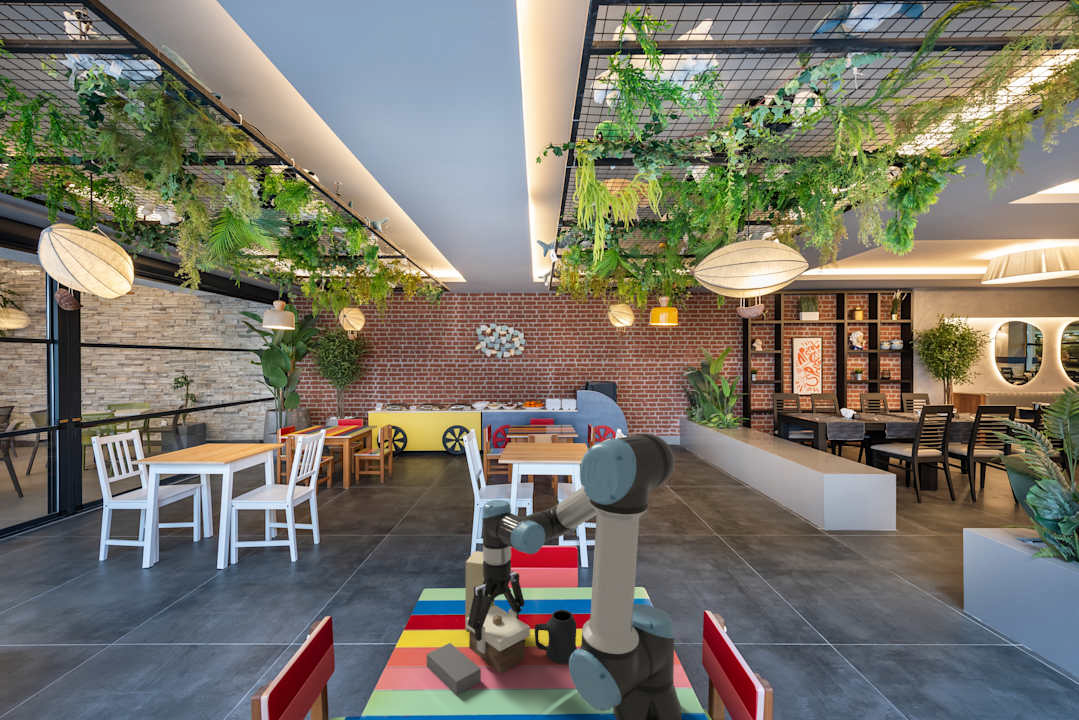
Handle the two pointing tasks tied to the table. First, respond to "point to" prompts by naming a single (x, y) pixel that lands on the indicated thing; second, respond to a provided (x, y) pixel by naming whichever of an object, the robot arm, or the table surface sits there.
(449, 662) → the block
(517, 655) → the box
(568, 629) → the mug
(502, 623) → the lid
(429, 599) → the table surface
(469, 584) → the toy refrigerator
